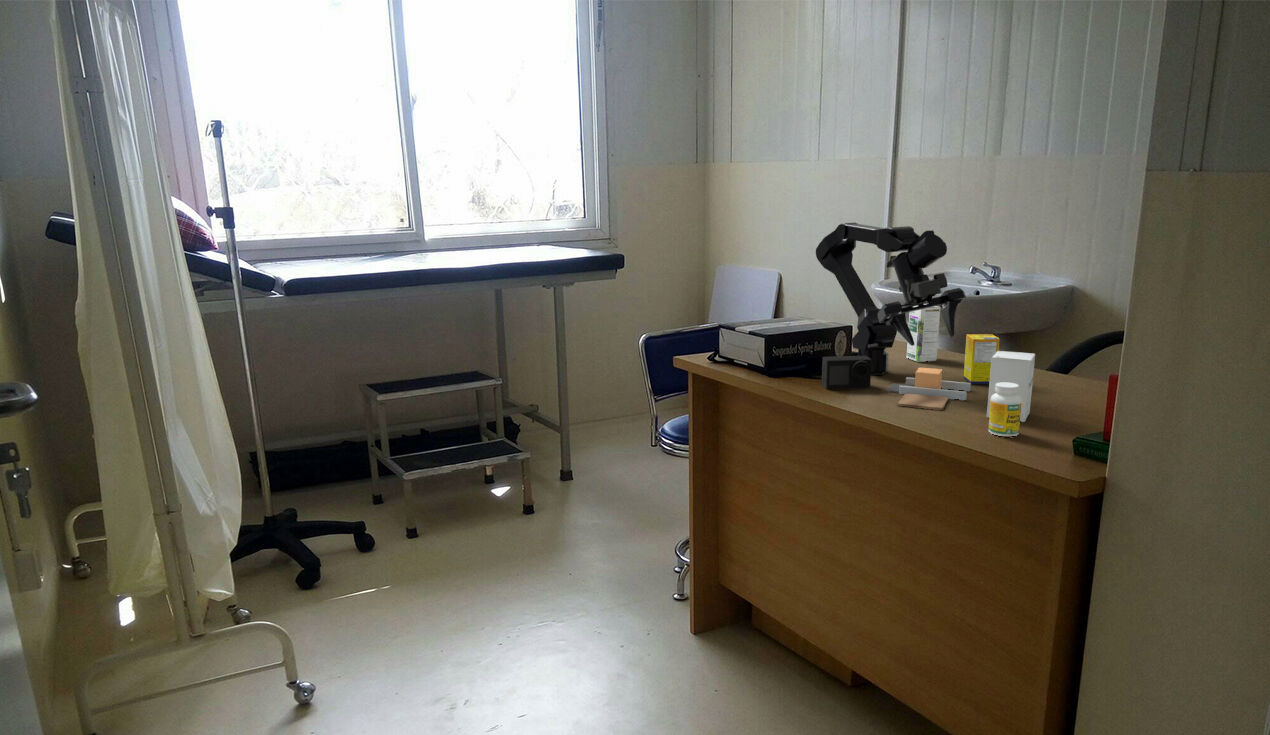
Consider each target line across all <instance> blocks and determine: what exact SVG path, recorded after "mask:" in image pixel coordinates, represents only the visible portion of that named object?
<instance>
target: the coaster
mask: <svg viewBox="0 0 1270 735" xmlns="http://www.w3.org/2000/svg"><path fill="white" fill-rule="evenodd" d="M948 400H949V399H948V397H939V396H929V395H919V394H908V393H905V394H904V395H903V394H902V396H901V398H900V399H899V401H898V402H897V407H902V406H905V407H904V408H911V407H913V409H921V408H924V410H931V409H933V410H932V411H940V410H942V411H944V408H945V406H946V405H947V403H946V402H948ZM945 404H946V405H945Z"/></svg>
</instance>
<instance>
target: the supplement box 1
mask: <svg viewBox="0 0 1270 735" xmlns="http://www.w3.org/2000/svg"><path fill="white" fill-rule="evenodd" d="M965 336H966V337H965V338H966V339H965V350H964V351H965V352H964V367H963V368H964V370H963V380H964V381H966V382H967V381H968V382H969V383H971V385H989V383H990V371H991V360H992V357H993V356H994V354H995V353H996V352H997V351H1000V338H999V337H998V336H995V335H994V334H992V333H991V334H990V333H989V334H988V333H984V334H983V333H982V334H981V333H979V334H978V333H973V334H972V333H971V334H970V333H969V334H968V333H967V334H966V335H965ZM968 382H967V383H968Z"/></svg>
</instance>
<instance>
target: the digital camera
mask: <svg viewBox="0 0 1270 735" xmlns="http://www.w3.org/2000/svg"><path fill="white" fill-rule="evenodd" d="M821 358H822V363H821V386H822V387H823V388H824V389H825V390H855V389H857V390H859V389H871V382H872V380H871V379H872V375H871V372H872V369H871V361H872V360H871V359H870V358H869V357H867V356H858V355H839V356H837V355H836V356H823V357H821Z"/></svg>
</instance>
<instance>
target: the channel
mask: <svg viewBox="0 0 1270 735" xmlns="http://www.w3.org/2000/svg"><path fill="white" fill-rule="evenodd" d="M905 385H914V387H911V386H899V393H898V395H903V394H905V393H908V394H919V395H929V396H939V397H948V400H954V399H959V400H958V401H964V400H966V401H967V393H968V392H971V389H972V387H971V386H972V384H971V383H968V382H967V381H966V382H964V381H953V380H943V379H942V384H941V388H942V389H932V388H921V387H915V377H910V376H909V377H908V376H907V377H905ZM948 389H954V390H948ZM959 390H964V391H959Z"/></svg>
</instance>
